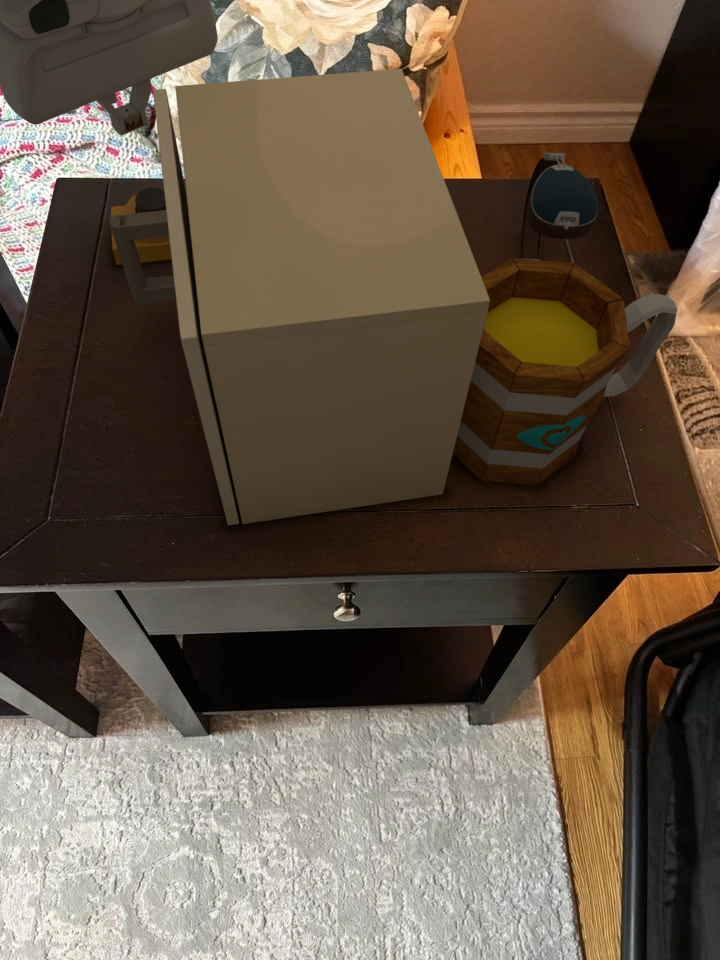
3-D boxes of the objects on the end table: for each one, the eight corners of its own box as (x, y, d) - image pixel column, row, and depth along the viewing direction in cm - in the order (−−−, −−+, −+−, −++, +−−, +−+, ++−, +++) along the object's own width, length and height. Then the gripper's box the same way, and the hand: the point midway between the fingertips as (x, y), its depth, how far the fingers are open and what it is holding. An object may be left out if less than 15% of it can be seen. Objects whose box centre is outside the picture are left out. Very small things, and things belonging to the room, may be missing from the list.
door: (159, 537, 64) (80, 352, 44) (142, 316, 77) (75, 96, 57) (239, 524, 65) (197, 336, 45) (209, 308, 78) (165, 88, 58)
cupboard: (242, 524, 65) (201, 334, 45) (216, 308, 78) (175, 85, 58) (442, 494, 67) (490, 300, 47) (384, 289, 81) (401, 68, 60)
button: (139, 225, 80) (135, 211, 78) (137, 202, 81) (134, 189, 80) (173, 221, 80) (170, 208, 78) (171, 199, 82) (168, 185, 80)
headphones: (576, 384, 73) (551, 247, 87) (624, 253, 61) (586, 117, 74) (512, 381, 73) (497, 244, 87) (547, 249, 61) (523, 114, 74)
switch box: (116, 265, 81) (107, 235, 78) (115, 222, 85) (106, 192, 82) (209, 255, 83) (204, 226, 79) (204, 213, 86) (199, 183, 83)
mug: (468, 503, 67) (500, 401, 54) (417, 389, 74) (435, 273, 61) (662, 452, 71) (735, 344, 58) (597, 347, 77) (649, 229, 64)
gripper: (179, -80, 66) (201, 75, 77) (-43, -9, 58) (18, 151, 70) (221, -52, 63) (237, 104, 75) (-5, 26, 56) (53, 185, 68)
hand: (130, 127), depth 72 cm, fingers closed
